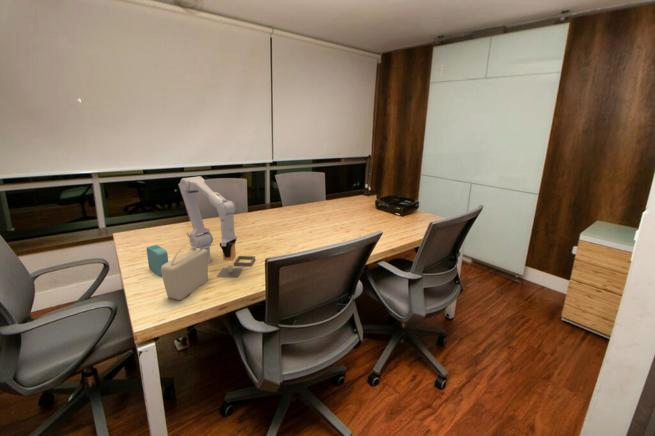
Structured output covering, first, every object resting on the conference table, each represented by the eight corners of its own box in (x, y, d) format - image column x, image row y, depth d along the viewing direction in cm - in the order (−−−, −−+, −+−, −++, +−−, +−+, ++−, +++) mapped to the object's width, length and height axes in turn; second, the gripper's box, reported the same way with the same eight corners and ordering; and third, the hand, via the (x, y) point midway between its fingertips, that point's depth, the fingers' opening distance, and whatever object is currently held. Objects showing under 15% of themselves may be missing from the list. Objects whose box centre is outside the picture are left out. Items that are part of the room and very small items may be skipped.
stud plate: (216, 278, 150) (215, 269, 149) (223, 269, 160) (222, 261, 158) (237, 279, 150) (237, 270, 149) (243, 269, 160) (243, 261, 158)
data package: (170, 274, 153) (167, 250, 150) (160, 277, 150) (157, 253, 146) (158, 266, 160) (155, 243, 157) (149, 269, 157) (145, 246, 153)
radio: (196, 277, 151) (191, 226, 144) (211, 280, 149) (207, 228, 142) (160, 300, 131) (152, 242, 124) (177, 304, 128) (170, 245, 121)
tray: (234, 267, 162) (233, 262, 161) (238, 260, 171) (238, 255, 170) (251, 267, 162) (251, 263, 162) (255, 260, 171) (255, 256, 170)
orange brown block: (232, 260, 150) (232, 246, 148) (223, 260, 150) (222, 246, 148) (235, 256, 155) (234, 243, 153) (226, 256, 155) (225, 242, 153)
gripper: (231, 233, 141) (233, 261, 145) (240, 223, 155) (241, 249, 159) (215, 232, 141) (217, 261, 145) (225, 222, 155) (227, 249, 159)
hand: (229, 255), depth 152 cm, fingers closed on orange brown block, 4 cm apart
